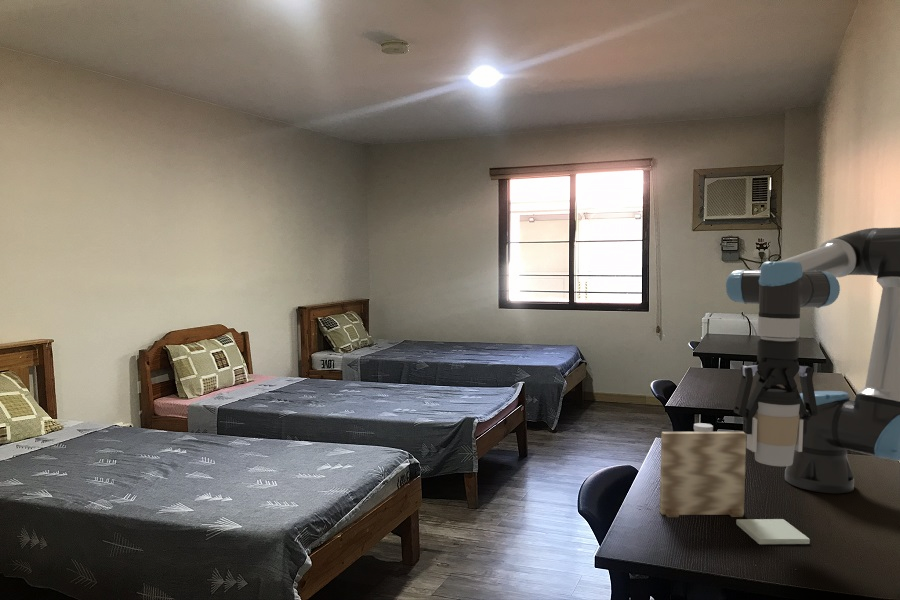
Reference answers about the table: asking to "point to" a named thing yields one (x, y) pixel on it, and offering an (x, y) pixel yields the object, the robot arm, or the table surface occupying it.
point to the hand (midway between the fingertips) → (774, 449)
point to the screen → (702, 473)
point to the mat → (772, 531)
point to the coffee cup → (777, 426)
